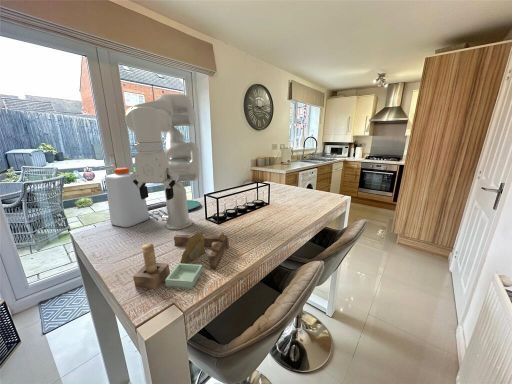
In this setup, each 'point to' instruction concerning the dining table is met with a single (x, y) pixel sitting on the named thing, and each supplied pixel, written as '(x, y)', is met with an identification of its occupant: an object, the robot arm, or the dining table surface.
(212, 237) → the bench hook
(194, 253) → the rock
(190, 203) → the cutlery set
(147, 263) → the dowel
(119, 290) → the dining table surface
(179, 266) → the tray
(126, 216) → the plastic bottle
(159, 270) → the holder
